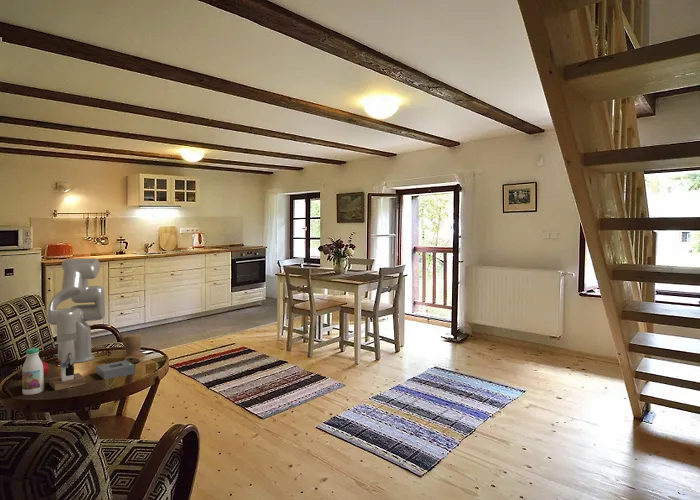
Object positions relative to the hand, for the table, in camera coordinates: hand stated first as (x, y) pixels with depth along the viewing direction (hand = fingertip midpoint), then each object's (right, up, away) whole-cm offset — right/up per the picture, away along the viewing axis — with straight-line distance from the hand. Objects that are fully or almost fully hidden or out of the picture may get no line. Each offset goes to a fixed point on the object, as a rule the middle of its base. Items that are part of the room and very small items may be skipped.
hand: (67, 373), depth 194 cm
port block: (+14, -5, +16) cm, 22 cm away
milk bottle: (-9, -6, -9) cm, 14 cm away
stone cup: (+10, -5, +40) cm, 41 cm away
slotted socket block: (0, -6, 0) cm, 6 cm away
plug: (0, -5, 0) cm, 5 cm away
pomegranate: (-24, -6, +13) cm, 28 cm away
